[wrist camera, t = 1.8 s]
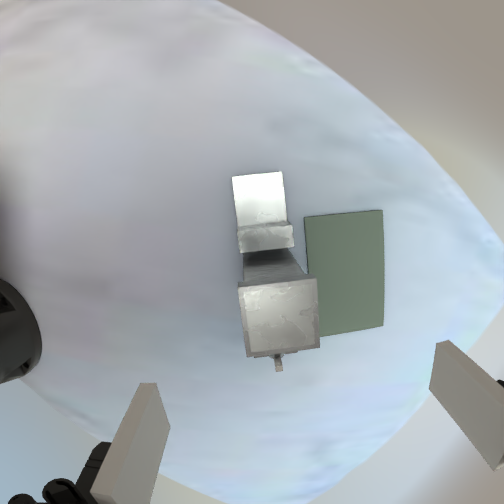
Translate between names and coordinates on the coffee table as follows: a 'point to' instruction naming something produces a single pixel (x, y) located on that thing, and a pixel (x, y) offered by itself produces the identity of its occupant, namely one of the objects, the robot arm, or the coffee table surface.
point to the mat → (347, 269)
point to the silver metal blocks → (262, 220)
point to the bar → (277, 304)
